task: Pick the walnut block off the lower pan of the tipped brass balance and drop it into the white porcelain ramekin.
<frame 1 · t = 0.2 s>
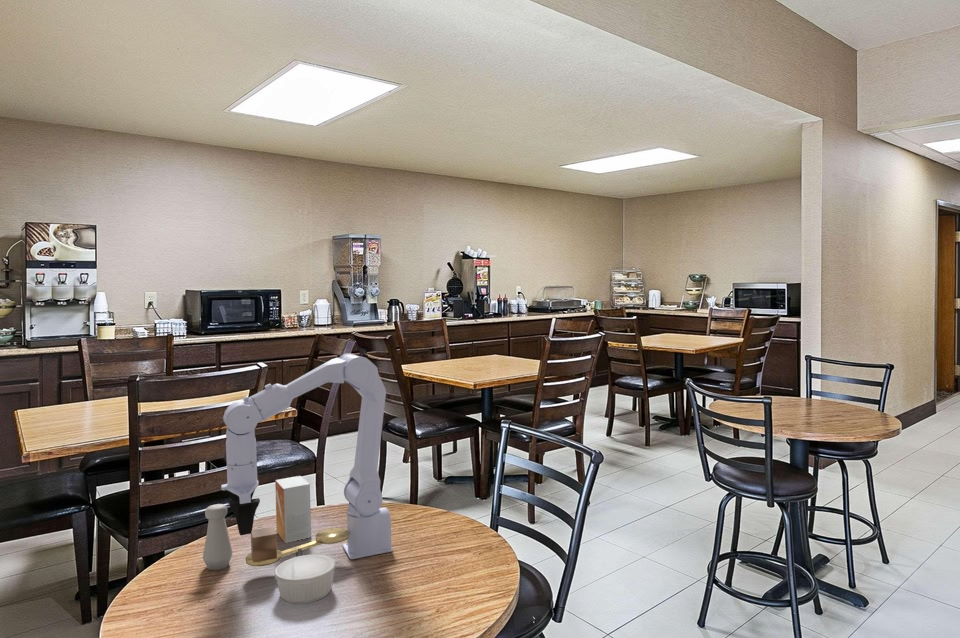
hand: (244, 527, 125), 10 cm above the table, tool pointing down, fingers open, 7 cm apart
salt shaker: (218, 567, 130), on the table
small box: (293, 536, 146), on the table
balance: (299, 568, 129), on the table
block: (264, 555, 125), point 4 cm above the table, touching balance
ramekin: (305, 593, 118), on the table
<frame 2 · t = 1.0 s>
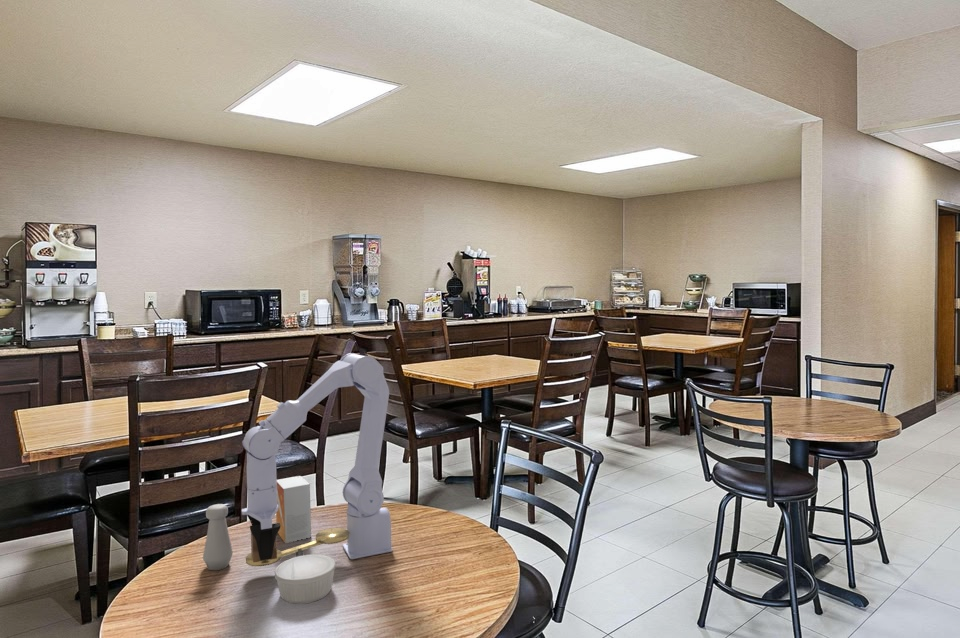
hand: (263, 551, 125), 5 cm above the table, tool pointing down, fingers open, 7 cm apart
nothing on the table moved.
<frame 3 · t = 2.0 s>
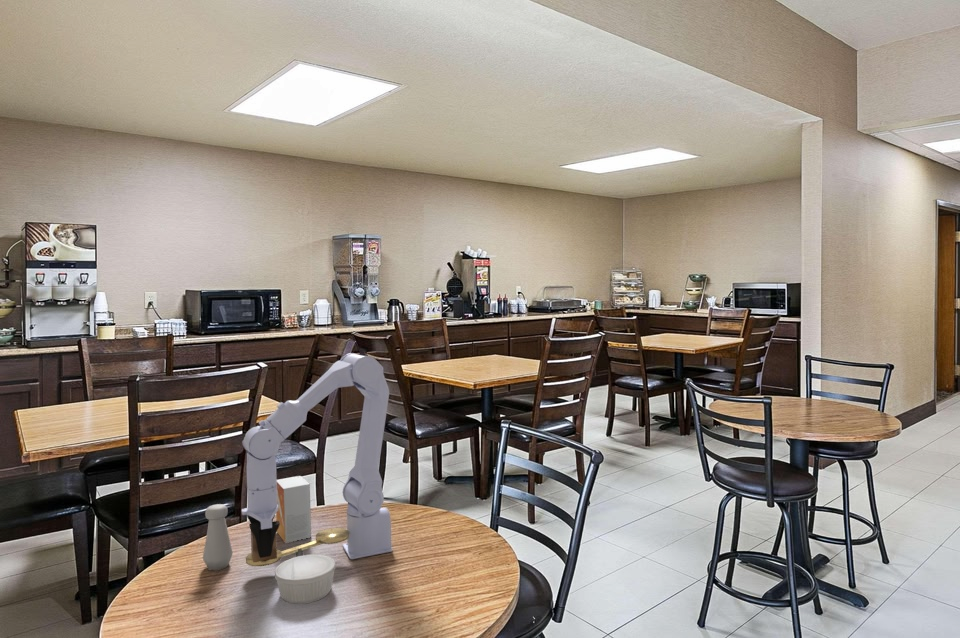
hand: (263, 551, 125), 5 cm above the table, tool pointing down, fingers closed on block, 4 cm apart
block: (264, 555, 125), point 4 cm above the table, touching balance, gripper
everything else where it was.
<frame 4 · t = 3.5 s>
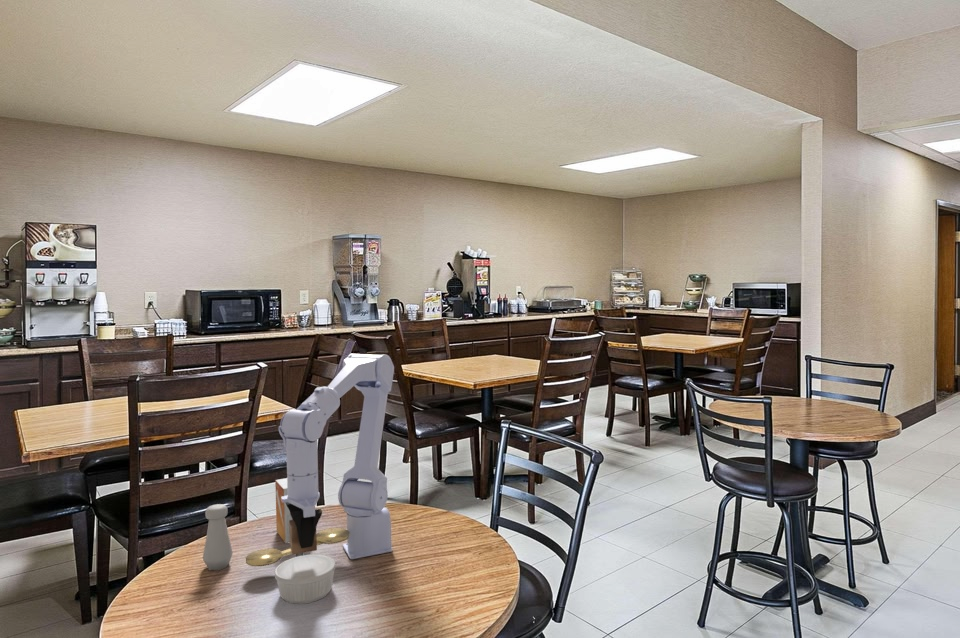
hand: (304, 541, 118), 10 cm above the table, tool pointing down, fingers closed on block, 4 cm apart
block: (303, 547, 118), point 9 cm above the table, touching gripper
everything else where it was.
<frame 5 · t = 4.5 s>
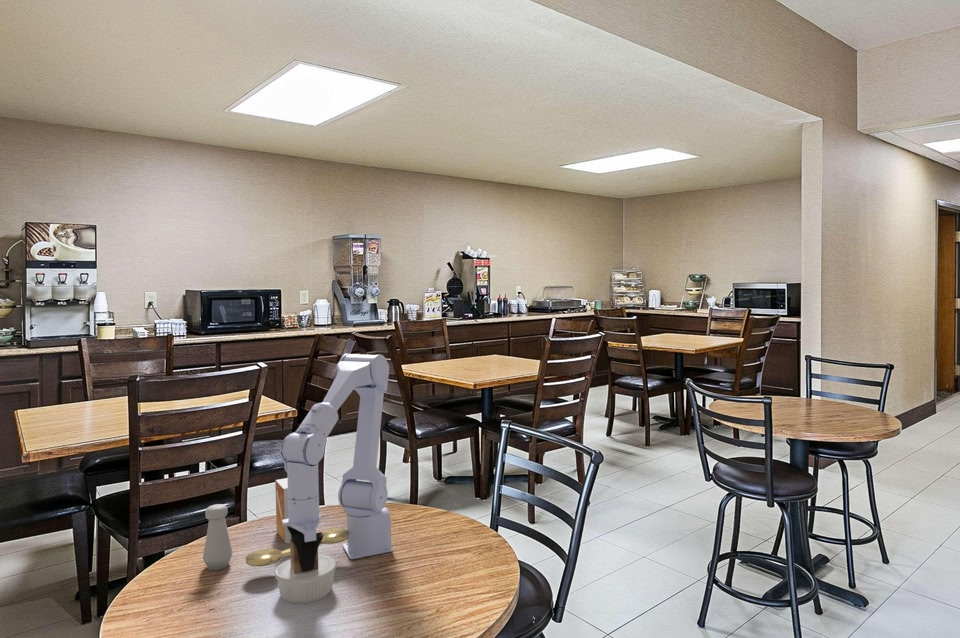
hand: (305, 564, 118), 5 cm above the table, tool pointing down, fingers closed on block, 4 cm apart
block: (304, 566, 118), point 5 cm above the table, touching gripper, ramekin
ramekin: (306, 593, 118), on the table, touching block
everything else where it was.
when the fingers open (5 cm above the table, at t = 5.2 s): block stays where it is, resting on ramekin.
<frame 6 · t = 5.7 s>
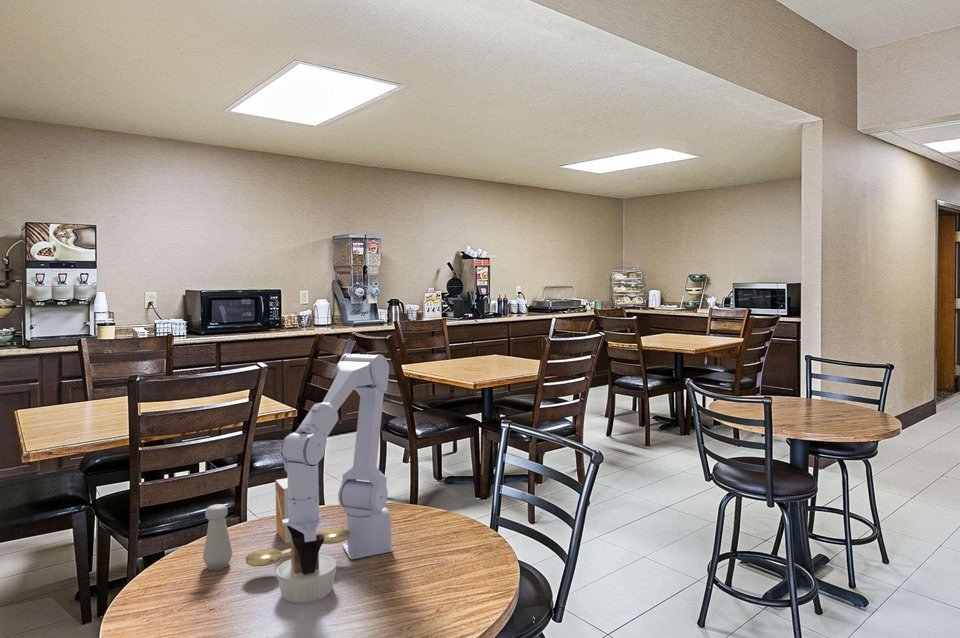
hand: (305, 564, 118), 5 cm above the table, tool pointing down, fingers open, 7 cm apart
block: (304, 566, 118), point 5 cm above the table, touching ramekin
everything else where it was.
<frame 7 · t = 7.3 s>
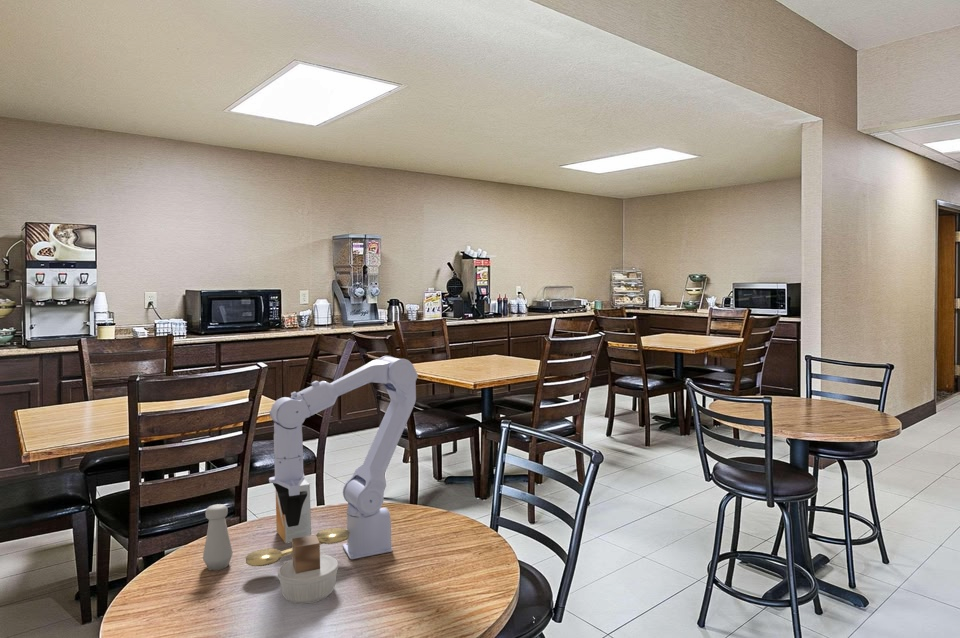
hand: (290, 519, 128), 10 cm above the table, tool pointing down, fingers open, 7 cm apart
nothing on the table moved.
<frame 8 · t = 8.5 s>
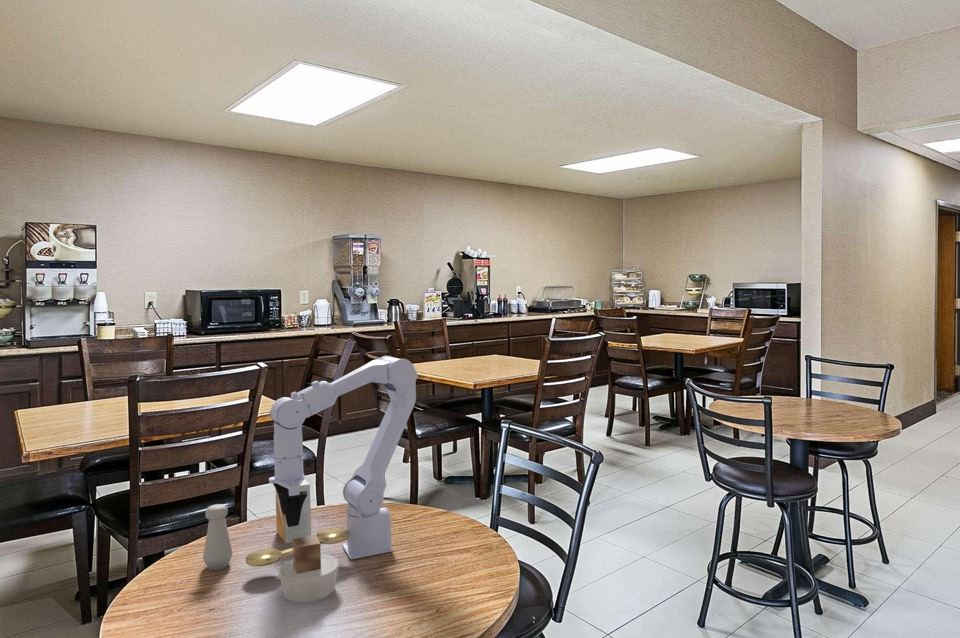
hand: (290, 519, 128), 10 cm above the table, tool pointing down, fingers open, 7 cm apart
nothing on the table moved.
at the end: block 0.3 cm from the ramekin (horizontally); block point 5.1 cm above the table; the gripper is holding nothing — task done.
